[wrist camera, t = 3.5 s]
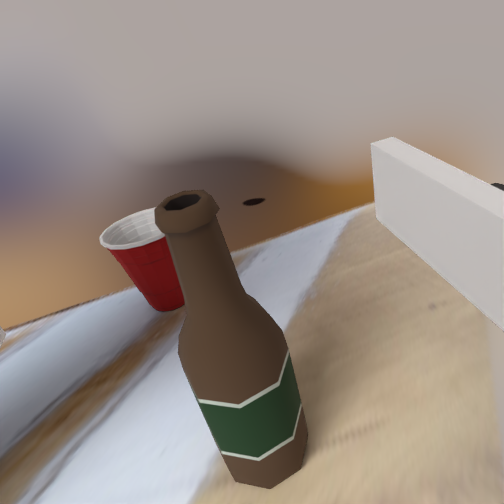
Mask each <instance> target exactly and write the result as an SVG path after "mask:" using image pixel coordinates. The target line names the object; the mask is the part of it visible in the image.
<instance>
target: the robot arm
mask: <svg viewBox="0 0 504 504" xmlns="http://www.w3.org/2000/svg"><path fill="white" fill-rule="evenodd" d="M371 155H372V169H373V181H374V194H375V209H376V219H377V220H378V221H380V222H381V223H382V224H383V225H384V226H385V227H386V228H387V229H389V230H390V231H391V232H392V233H393V234H394V235H395V236H396V237H398V238H399V239H400V240H401V241H402V242H403V243H404V244H405V245H407V246H408V247H409V248H410V249H411V250H412V251H413V252H415V253H416V254H417V255H418V256H419V257H420V258H421V259H422V260H424V261H425V262H426V263H427V264H428V265H429V266H430V267H431V268H433V269H434V270H435V271H436V272H437V273H438V274H439V275H440V276H442V277H443V278H444V279H445V280H446V281H447V282H448V283H449V284H451V285H452V286H453V287H454V288H455V289H456V290H457V291H459V292H460V293H461V294H462V295H463V296H464V297H465V298H466V299H468V300H469V301H470V302H471V303H472V304H473V305H474V306H475V307H477V308H478V309H479V310H480V311H481V312H482V313H483V314H484V315H486V316H487V317H488V318H489V319H490V320H491V321H492V322H494V323H495V324H496V325H497V326H498V327H499V328H500V329H501V330H503V331H504V185H503V184H498V183H494V184H488V183H486V182H484V181H482V180H480V179H478V178H476V177H474V176H472V175H470V174H468V173H466V172H464V171H461V170H460V169H458V168H456V167H454V166H451V165H449V164H447V163H445V162H443V161H441V160H439V159H437V158H435V157H433V156H431V155H429V154H427V153H425V152H423V151H421V150H419V149H417V148H415V147H413V146H411V145H409V144H407V143H405V142H403V141H400V140H399V139H396V138H395V137H390V138H387V139H384V140H380V141H377V142H374V143H371ZM5 336H6V333H5V332H4V330H3V329H2V328H1V326H0V347H1V345H2V343H3V340H4V338H5Z"/></svg>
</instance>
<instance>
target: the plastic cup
mask: <svg viewBox="0 0 504 504" xmlns="http://www.w3.org/2000/svg"><path fill="white" fill-rule="evenodd" d="M154 209H155V208H151V209H147V210H143V211H140V212H137V213H135V214H132V215H129V216H127V217H125V218H123V219H121V220H119V221H117V222H115V223H114V224H112V225H111V226H110V227H108V228H107V229H106V230H104V232H103V233H102V234H101V236H100V237H99V238H100V243H101V245H102V246H104V247H106V248H107V249H108V250H109V251H110V252H111V253H112V255H114V257H115V258H116V259H117V261H118V262H119V263H120V264H121V265H122V267H123V268H124V269H125V271H126V272H127V274H128V275H129V277H130V278H131V279H132V281H133V282H134V284H135V285H136V287H137V288H138V289H139V291H140V292H142V294H143V295H144V297H145V298H146V299H147V301H148V302H149V304H150V305H151V306H152V307H153V308H154V309H156V310H158V311H170V310H174V309H176V308H179V307H181V306H182V305H183V304H185V301H184V296H183V293H182V289H181V286H180V283H179V280H178V276H177V273H176V270H175V266H174V263H173V260H172V257H171V253H170V250H169V247H168V244H167V240H166V237H165V234H164V233H162V232H161V231H160V230H159V228H158V227H157V226H156V224H155V215H154Z"/></svg>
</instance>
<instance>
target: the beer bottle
mask: <svg viewBox="0 0 504 504" xmlns="http://www.w3.org/2000/svg"><path fill="white" fill-rule="evenodd" d="M218 211H219V207H218V205H217V204H216V202H215V201H214V199H213V197H212V196H211V195H210V194H208V193H207V192H206V191H204V190H191V191H182V192H180V193H177V194H175V195H172V196H170V197H167V198H166V199H164V200H163V201H162V202H161V203H160V204H159V205H158V206H157V207H156V208H155V209H154V215H155V224H156V226H157V227H158V228H159V230H160V231H161V232H162V233H164V234H165V237H166V240H167V244H168V247H169V250H170V253H171V257H172V260H173V263H174V266H175V270H176V273H177V276H178V280H179V283H180V286H181V289H182V293H183V296H184V301H185V308H186V314H187V316H186V319H185V321H184V324H183V327H182V329H181V332H180V334H179V345H178V355H179V358H180V361H181V364H182V367H183V370H184V373H185V375H186V377H187V379H188V382H189V384H190V386H191V388H192V391H193V393H194V395H195V397H196V400H197V402H198V404H199V406H200V409H201V411H202V413H203V415H204V418H205V420H206V422H207V424H208V427H209V429H210V431H211V433H212V436H213V438H214V440H215V442H216V444H217V446H218V448H219V450H220V453H221V455H222V457H223V459H224V461H225V463H226V465H227V467H228V469H229V471H230V472H231V474H232V476H233V478H234V480H235V481H236V482H239V483H244V484H249V485H253V486H258V487H263V488H267V489H271V488H273V487H274V486H276V485H277V484H279V483H280V482H282V481H283V480H285V479H286V478H288V477H289V476H291V475H292V474H294V473H295V472H297V471H299V470H300V469H301V465H302V460H303V456H304V451H305V446H306V442H307V437H308V433H307V426H306V421H305V416H304V412H303V408H302V404H301V399H300V395H299V391H298V387H297V382H296V378H295V374H294V370H293V366H292V361H291V357H290V353H289V349H288V346H287V343H286V340H285V337H284V334H283V332H282V330H281V328H280V327H279V326H278V325H277V323H276V322H275V321H274V320H273V318H272V317H271V316H270V315H269V314H268V313H267V312H266V311H265V309H264V308H263V307H262V306H261V305H260V304H259V303H258V302H257V301H256V300H255V299H254V298H253V297H251V296H250V295H248V294H246V292H245V290H244V288H243V286H242V285H241V282H240V279H239V277H238V274H237V271H236V269H235V266H234V263H233V261H232V258H231V255H230V252H229V250H228V247H227V244H226V242H225V239H224V236H223V234H222V231H221V228H220V226H219V223H218V220H217V217H216V213H217V212H218Z"/></svg>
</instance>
